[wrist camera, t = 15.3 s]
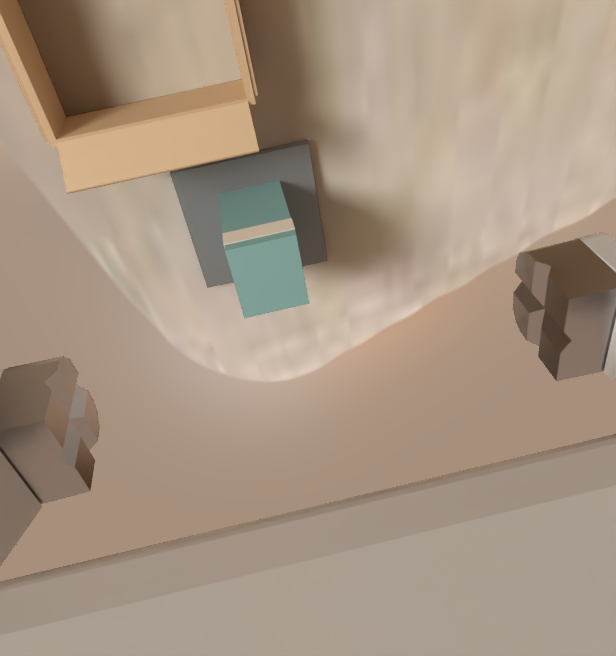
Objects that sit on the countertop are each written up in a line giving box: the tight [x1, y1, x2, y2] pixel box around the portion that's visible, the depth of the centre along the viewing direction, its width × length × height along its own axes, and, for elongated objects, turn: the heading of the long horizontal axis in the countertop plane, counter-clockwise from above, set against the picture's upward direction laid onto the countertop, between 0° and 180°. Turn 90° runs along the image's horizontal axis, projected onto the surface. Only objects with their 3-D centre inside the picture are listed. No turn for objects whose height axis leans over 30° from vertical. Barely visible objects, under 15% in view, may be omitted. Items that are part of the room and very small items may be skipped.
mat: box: [170, 140, 327, 288], centre depth 50 cm, size 11×11×1 cm
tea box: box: [219, 181, 309, 318], centre depth 46 cm, size 5×6×9 cm
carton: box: [0, 0, 259, 194], centre depth 36 cm, size 14×20×7 cm
